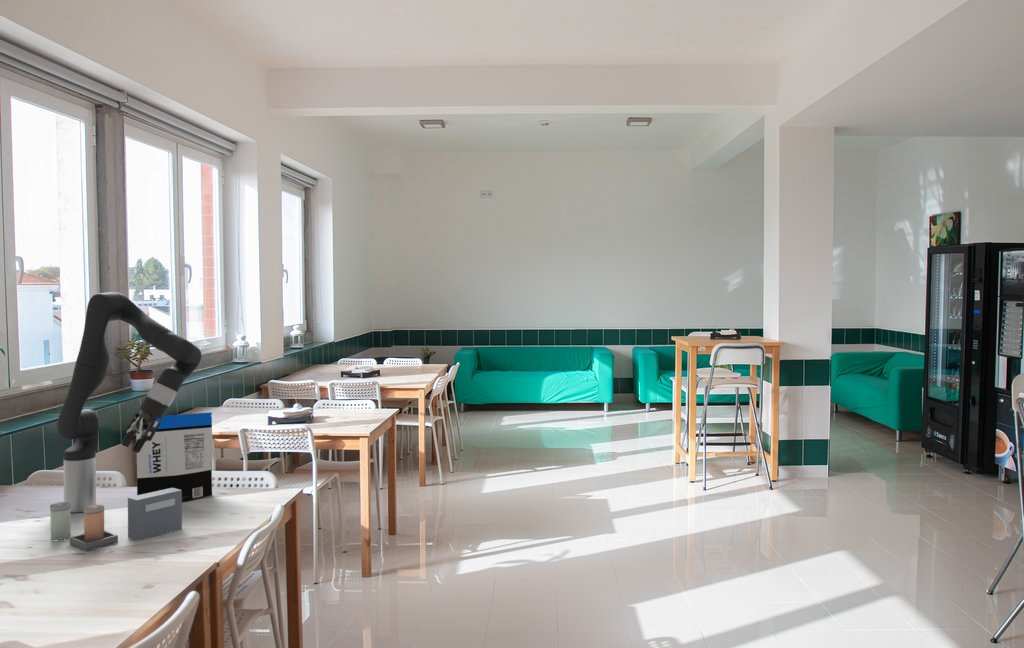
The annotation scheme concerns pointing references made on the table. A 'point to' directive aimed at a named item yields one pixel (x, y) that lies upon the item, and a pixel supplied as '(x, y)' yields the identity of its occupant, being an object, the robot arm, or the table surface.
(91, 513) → the cylinder
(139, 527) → the dark grey unit
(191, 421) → the protein powder
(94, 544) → the charcoal tray
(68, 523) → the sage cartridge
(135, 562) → the table surface
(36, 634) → the table surface
